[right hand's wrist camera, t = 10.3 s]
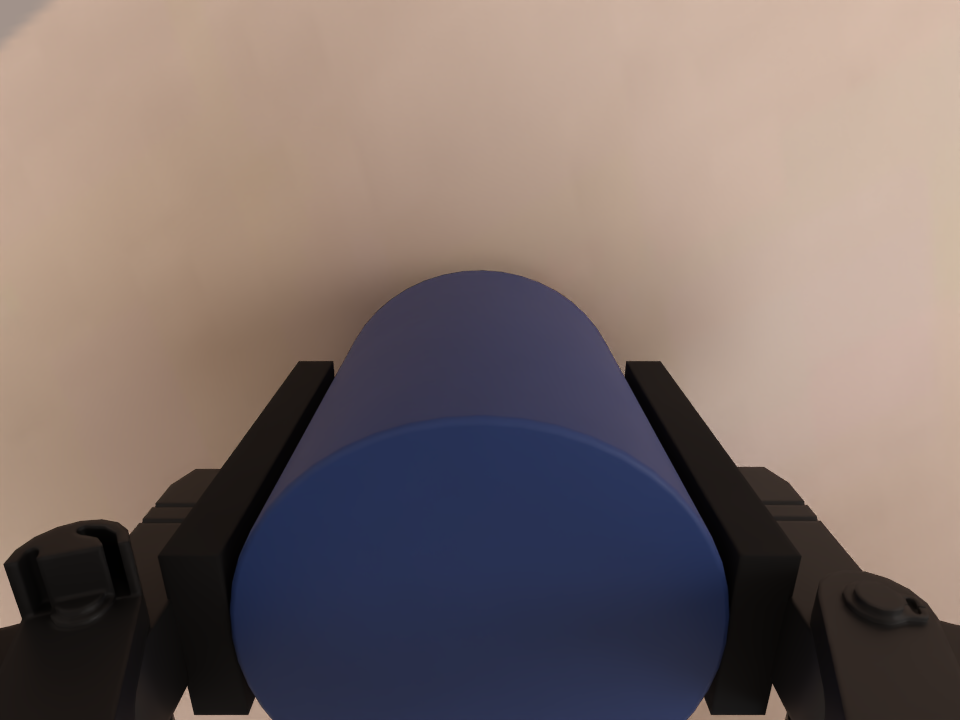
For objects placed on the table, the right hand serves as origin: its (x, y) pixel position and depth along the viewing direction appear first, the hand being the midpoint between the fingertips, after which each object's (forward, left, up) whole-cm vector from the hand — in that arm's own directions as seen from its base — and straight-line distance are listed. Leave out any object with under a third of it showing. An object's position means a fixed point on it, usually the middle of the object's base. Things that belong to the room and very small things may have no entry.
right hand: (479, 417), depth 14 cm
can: (0, 0, -1) cm, 1 cm away
